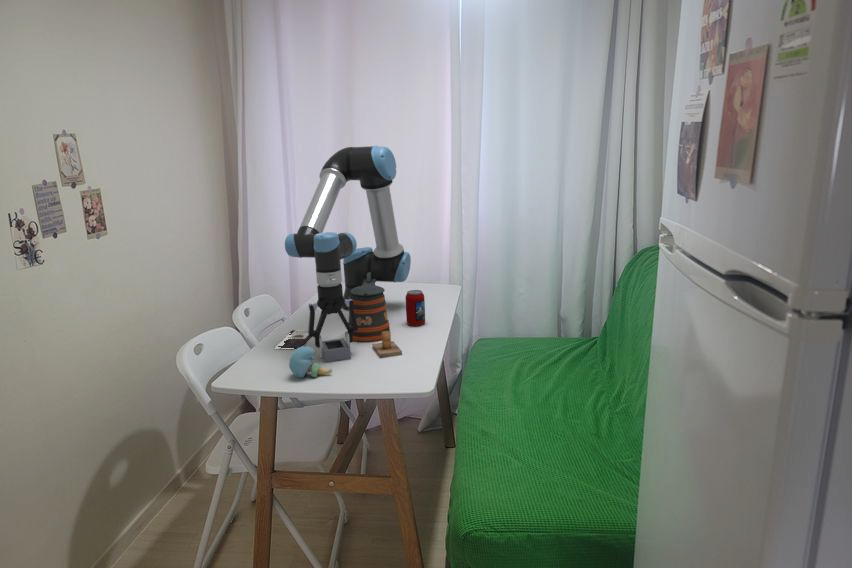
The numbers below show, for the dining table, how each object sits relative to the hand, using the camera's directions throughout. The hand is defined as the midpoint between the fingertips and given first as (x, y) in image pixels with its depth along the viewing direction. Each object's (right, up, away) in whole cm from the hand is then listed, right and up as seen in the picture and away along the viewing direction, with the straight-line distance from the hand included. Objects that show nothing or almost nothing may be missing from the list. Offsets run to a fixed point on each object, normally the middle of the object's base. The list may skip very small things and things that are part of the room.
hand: (335, 354), depth 191 cm
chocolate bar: (-16, +2, +16) cm, 23 cm away
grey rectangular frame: (0, 0, 0) cm, 0 cm away
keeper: (+16, +1, +2) cm, 16 cm away
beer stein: (+9, +5, +20) cm, 23 cm away
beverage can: (+25, +7, +29) cm, 39 cm away
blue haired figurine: (-4, -5, -15) cm, 16 cm away
